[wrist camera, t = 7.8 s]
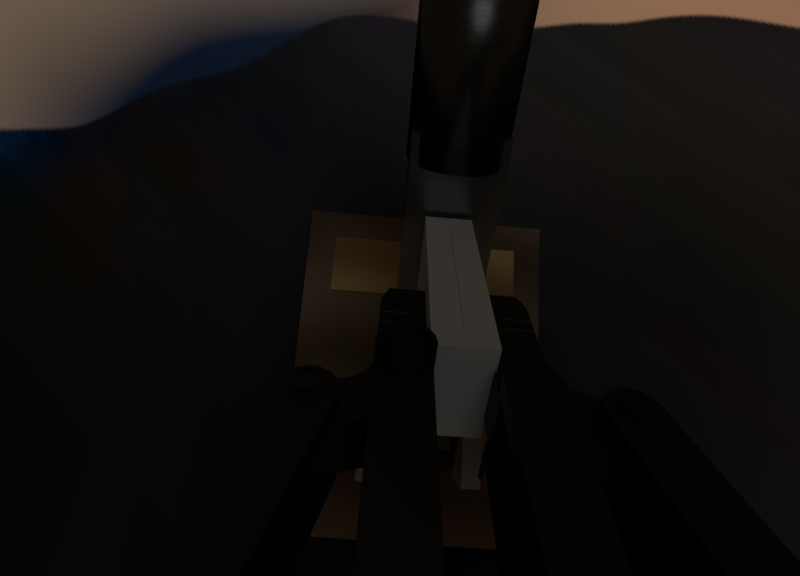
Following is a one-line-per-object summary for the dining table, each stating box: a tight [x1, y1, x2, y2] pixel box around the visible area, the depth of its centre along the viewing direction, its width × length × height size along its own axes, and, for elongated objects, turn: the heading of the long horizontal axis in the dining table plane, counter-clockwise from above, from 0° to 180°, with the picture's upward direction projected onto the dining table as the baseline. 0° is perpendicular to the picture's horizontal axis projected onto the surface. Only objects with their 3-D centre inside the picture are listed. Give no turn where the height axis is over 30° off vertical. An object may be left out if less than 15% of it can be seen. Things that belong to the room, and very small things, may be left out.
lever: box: [397, 0, 539, 473], centre depth 19 cm, size 3×3×21 cm
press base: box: [294, 211, 540, 549], centre depth 25 cm, size 17×13×7 cm
